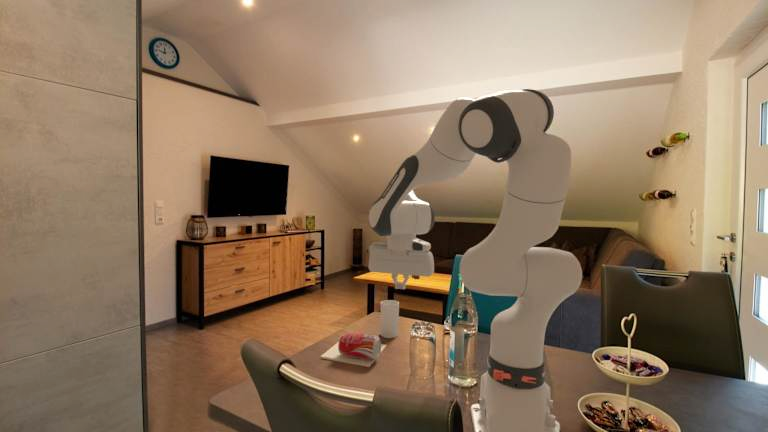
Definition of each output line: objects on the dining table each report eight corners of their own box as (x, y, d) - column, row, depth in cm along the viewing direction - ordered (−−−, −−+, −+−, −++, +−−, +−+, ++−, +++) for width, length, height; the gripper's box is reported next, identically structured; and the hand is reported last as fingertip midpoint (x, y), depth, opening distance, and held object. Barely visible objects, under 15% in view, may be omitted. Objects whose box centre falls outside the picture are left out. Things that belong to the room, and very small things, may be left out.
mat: (369, 367, 104) (369, 365, 104) (320, 358, 109) (320, 356, 109) (386, 346, 119) (386, 344, 119) (343, 339, 125) (343, 338, 125)
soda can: (380, 361, 109) (344, 356, 113) (383, 337, 112) (348, 333, 116) (373, 360, 103) (335, 355, 107) (376, 334, 106) (339, 330, 109)
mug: (395, 339, 126) (395, 306, 125) (377, 337, 128) (377, 303, 128) (403, 330, 135) (403, 299, 135) (386, 328, 137) (387, 297, 137)
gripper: (365, 242, 109) (364, 287, 109) (431, 246, 102) (430, 294, 103) (373, 241, 115) (372, 283, 115) (435, 244, 108) (434, 289, 109)
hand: (400, 288), depth 109 cm, fingers closed
